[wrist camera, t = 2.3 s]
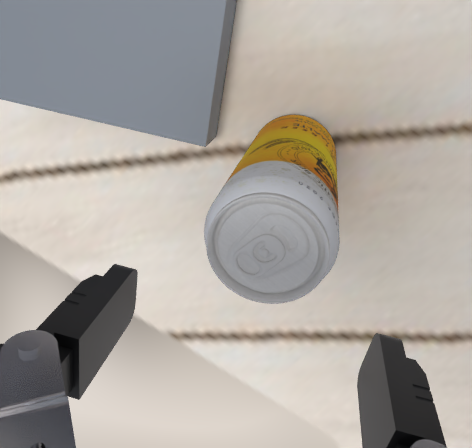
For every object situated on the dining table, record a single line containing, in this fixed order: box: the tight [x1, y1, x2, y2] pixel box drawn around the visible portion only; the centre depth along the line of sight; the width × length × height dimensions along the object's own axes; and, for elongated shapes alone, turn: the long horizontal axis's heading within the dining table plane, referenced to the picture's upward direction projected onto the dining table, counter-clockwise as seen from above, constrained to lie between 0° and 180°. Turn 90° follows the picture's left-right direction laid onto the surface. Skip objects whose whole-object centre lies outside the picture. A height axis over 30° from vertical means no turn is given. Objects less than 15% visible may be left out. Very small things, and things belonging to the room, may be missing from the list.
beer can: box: [204, 115, 339, 304], centre depth 24 cm, size 6×6×15 cm
